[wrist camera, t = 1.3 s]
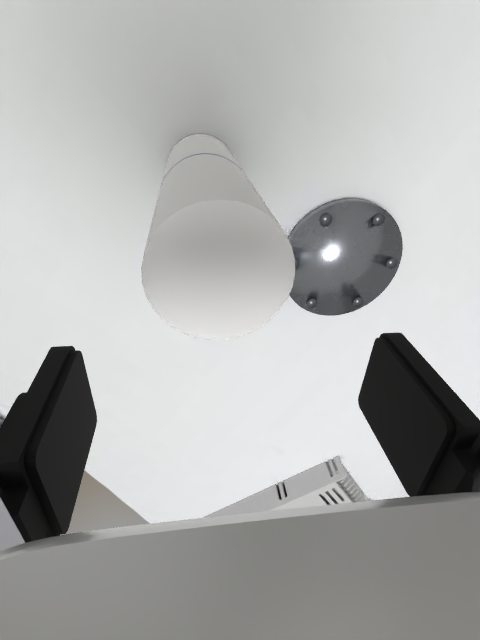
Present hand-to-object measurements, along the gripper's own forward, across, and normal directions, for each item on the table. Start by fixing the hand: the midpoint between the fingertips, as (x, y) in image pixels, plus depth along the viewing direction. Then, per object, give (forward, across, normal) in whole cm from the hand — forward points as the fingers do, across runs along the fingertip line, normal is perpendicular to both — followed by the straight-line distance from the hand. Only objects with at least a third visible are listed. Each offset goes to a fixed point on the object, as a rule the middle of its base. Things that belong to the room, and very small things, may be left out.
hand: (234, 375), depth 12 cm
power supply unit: (+33, -16, +66) cm, 75 cm away
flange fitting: (+32, -13, +9) cm, 35 cm away
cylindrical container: (+32, 0, -1) cm, 32 cm away
